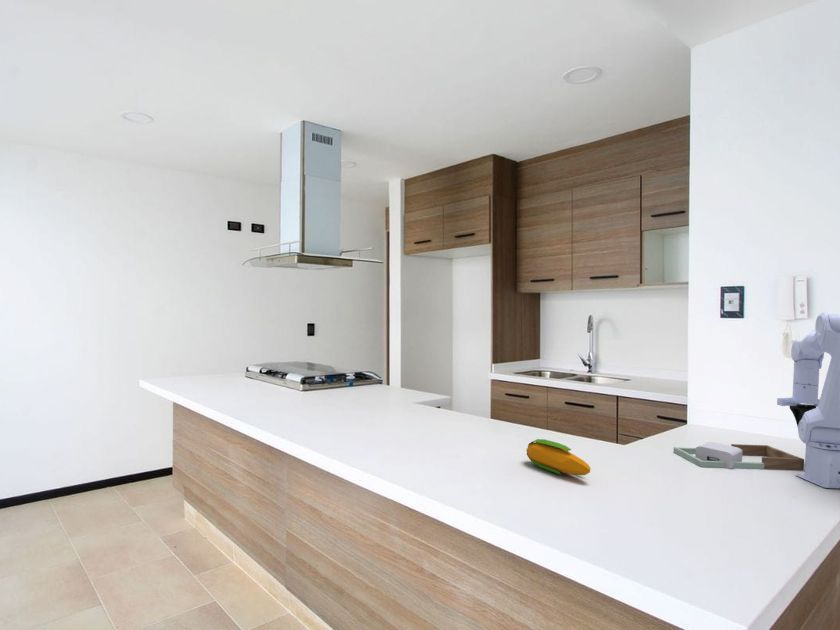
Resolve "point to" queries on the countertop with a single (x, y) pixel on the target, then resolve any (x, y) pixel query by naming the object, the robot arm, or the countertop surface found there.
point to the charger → (719, 453)
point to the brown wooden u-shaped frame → (772, 457)
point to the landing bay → (716, 464)
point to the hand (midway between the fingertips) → (803, 431)
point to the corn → (556, 458)
